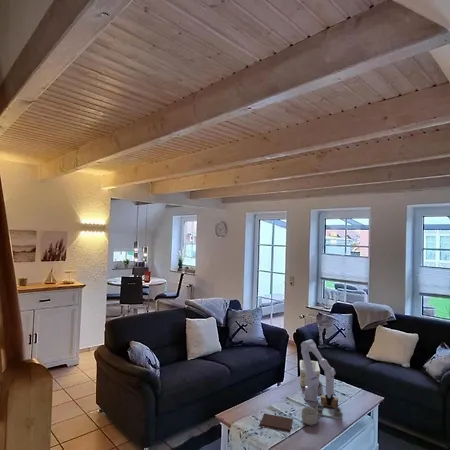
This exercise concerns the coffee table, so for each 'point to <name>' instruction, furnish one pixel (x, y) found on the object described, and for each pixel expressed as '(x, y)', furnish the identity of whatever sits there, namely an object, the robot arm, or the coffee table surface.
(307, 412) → the teacup
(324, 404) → the tan wooden block
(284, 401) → the coffee table surface
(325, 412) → the board
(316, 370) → the storage basket
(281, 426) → the notebook
